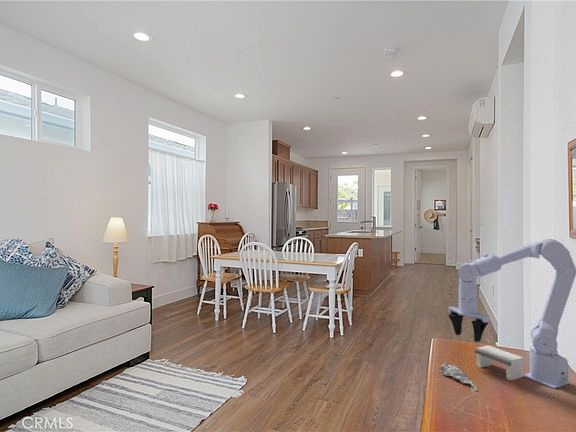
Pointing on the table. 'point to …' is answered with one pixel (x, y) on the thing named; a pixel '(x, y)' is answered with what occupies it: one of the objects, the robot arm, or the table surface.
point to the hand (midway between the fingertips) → (467, 337)
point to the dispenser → (500, 360)
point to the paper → (456, 374)
